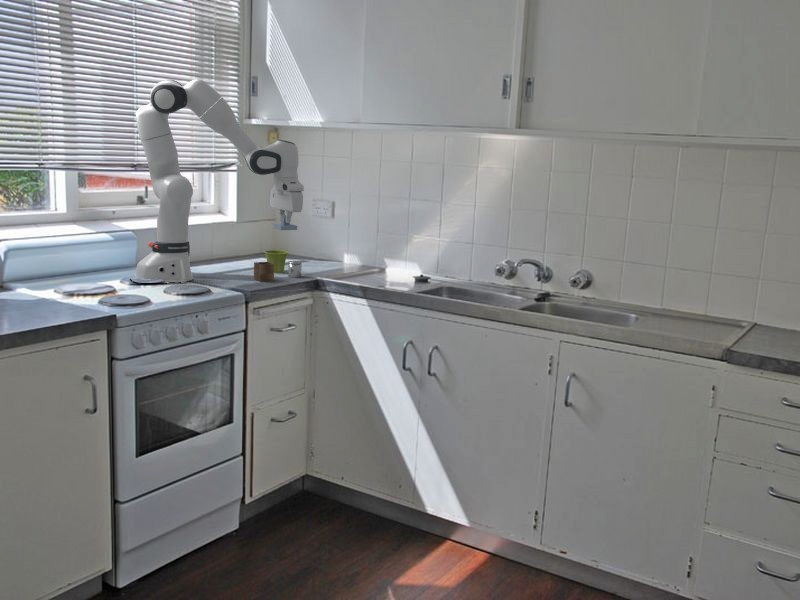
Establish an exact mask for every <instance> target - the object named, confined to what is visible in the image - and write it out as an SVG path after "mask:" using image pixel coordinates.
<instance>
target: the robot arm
mask: <svg viewBox="0 0 800 600" xmlns="http://www.w3.org/2000/svg"><path fill="white" fill-rule="evenodd" d="M149 99H150V103H148V104H146V105H143V106H141V107H140V108H138V109H137V111H136V113H135V119H136V120H135V121H136V127H137V131H138V136H139V139H140V143H141V144H142V149H143V152H144V156H145V158H146V161H147V166H148V172H149V177H150V181H151V185H152V190H153V194H154V195H155V196H156V198H158V200H159V201H160V203H159V210H158V215H157V219H156V222H157V223H156V227H157V228H156V231H157V234H156V236H157V237H156V239H157V240H156V241H155V242H153V241H148V243H147V246H148V247H149V248H151V252H150V253H149V254H148V255H147V254H146V256H145V257H143V258H142V259H141V260H140V261H139V262H137V265H136V268H135V274H134V275H135V276H136V277H137V278H144V279H156V278H157V279H163V280H164V281H165V282H181V283H180V284H185V283H186V282H189V281H192V280H193V279H194V278H193V275H192V270H191V266H190V263H191V262H190V254H191V253H190V252H191V247H190V241H189V217H190V213H191V211H190V210H191V203H192V198H193V195H194V188H193V186H192V182H190V180H189V179H188V178H187V177H186V176H184V175H181V170H180V164H179V153H178V150H177V146H176V143H175V140H174V137H173V134H172V130H171V128H170V124H169V115H171V114H174V113H175V112H178V111H180V110H182V109H183V108H187V109H189V110H191V111H192V112H193V113H194V114H195V115H196V116H197V117H198V118H199V119H200V121H201V122H203V123H204V124H205V125H206V126H208V127H209V128H210V129H211V130H213V131H214V132H215V133H218V134H219V135H222V136H223V137H224V138H226V139H227V140H228V141H230V143H231V144H232V145H233V146H234V148H236V149H237V150H238V151H239V152H240V154H241V155H242V156H243V157H244V159H245V162H246V165H247V167H248V169H249V170H250V172H252V173H253V174H256V175H259V176H267V175H270V174H273V186H272V188H271V190H270V195H269V206H270V208H273V209H277V210H278V215H279V221H280V222H281V215H286V218H285V223H290V224H291V221H292V219H291V218H292V216H293V214H294V213H301V212H302V210H303V203H304V195H303V192H304V189H305V187H304V185H303V184H302V183H301V182H300V180H299V175H298V167H299V151H298V147H297V145H296V144H295V143H294V142H292V141H289V140H284V139H277V140H276V141H274V142H272V143H271V144H269V145H267V146H260V145H258V144H257V143H256V142H255V141H254V140H253V139H251V137H250V136H249V135H248V134H247V132H246V131H244V130H243V129H242V127H241V125H240V124H239V122H238V120H237V118H236V115H235V112H234V111H233V109H232V108H231V106H230V105H229V104H228V102H227V101H226V100H225V99H224V98H223V97H222V95H221V94H220V93H218V91H217V90H215V88H213V87H212V86H211V84H210V85H209V84H208V83H207V82H205V81H204V80H203V79H199V78H195V79H193V80H190V81H189V82H188V83H186V84H185V85H182V84H181V83H180V82H179V81H176V80H175V79H165V80H164V79H163V80H161V81H159V82H157V83H156V85H155V86H153V87H152V88H151V91H150V94H149Z"/></svg>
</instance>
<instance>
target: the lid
mask: <svg viewBox="0 0 800 600" xmlns="http://www.w3.org/2000/svg"><path fill="white" fill-rule="evenodd" d="M285 218H286V214H285V215H281V221H280V223H274V224H273V229H274V230H278V231H297V230H298V226H297V225H295V224H291V222H290V223H285Z"/></svg>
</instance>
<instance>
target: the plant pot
mask: <svg viewBox="0 0 800 600" xmlns="http://www.w3.org/2000/svg"><path fill="white" fill-rule="evenodd" d="M263 252H264V253H265V257H266V262H270V263H273V264H274V274H282V273H284V272H285V266H286V261H287V260H286V259H287V257H288V254H289V251H286V250H280V249H272V250H271V249H269V250H264V251H263Z"/></svg>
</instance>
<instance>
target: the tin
mask: <svg viewBox="0 0 800 600" xmlns="http://www.w3.org/2000/svg"><path fill="white" fill-rule="evenodd" d="M302 264H303V262H302V261H301V260H289V261H288V275H287V276H288V278H292V279H293V278H295V279H297V278H298V279H299V278H302V270H303V269H302V267H303V265H302Z"/></svg>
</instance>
